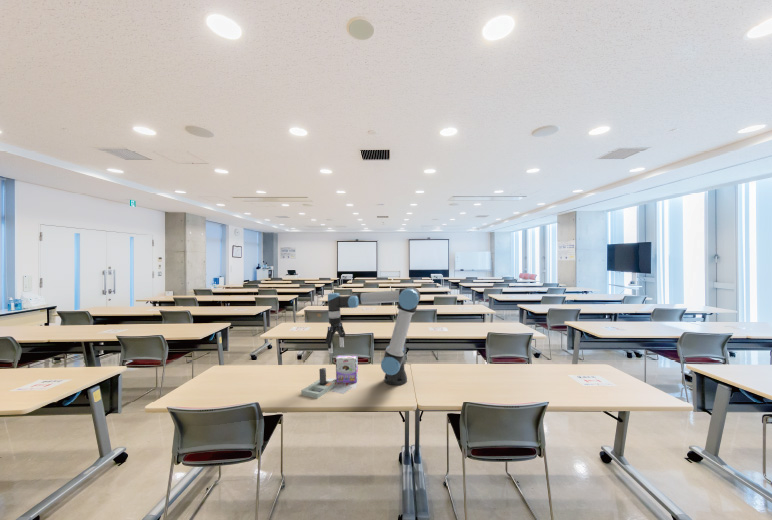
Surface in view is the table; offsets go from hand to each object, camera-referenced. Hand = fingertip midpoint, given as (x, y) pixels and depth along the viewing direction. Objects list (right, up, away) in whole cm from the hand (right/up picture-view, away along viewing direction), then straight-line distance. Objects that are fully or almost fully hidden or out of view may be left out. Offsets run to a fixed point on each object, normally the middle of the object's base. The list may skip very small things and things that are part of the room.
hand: (336, 350), depth 204 cm
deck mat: (+4, -23, -7) cm, 24 cm away
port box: (-10, -23, -8) cm, 26 cm away
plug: (-8, -23, -4) cm, 25 cm away
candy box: (+6, -23, +6) cm, 24 cm away
